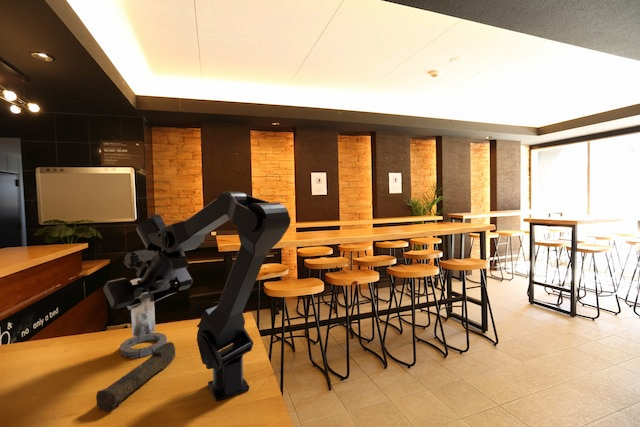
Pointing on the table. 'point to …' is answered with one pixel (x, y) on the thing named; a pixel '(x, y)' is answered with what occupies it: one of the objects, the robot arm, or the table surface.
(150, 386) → the table surface
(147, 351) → the ring
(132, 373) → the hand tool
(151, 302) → the silver metal cylinder
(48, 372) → the table surface
